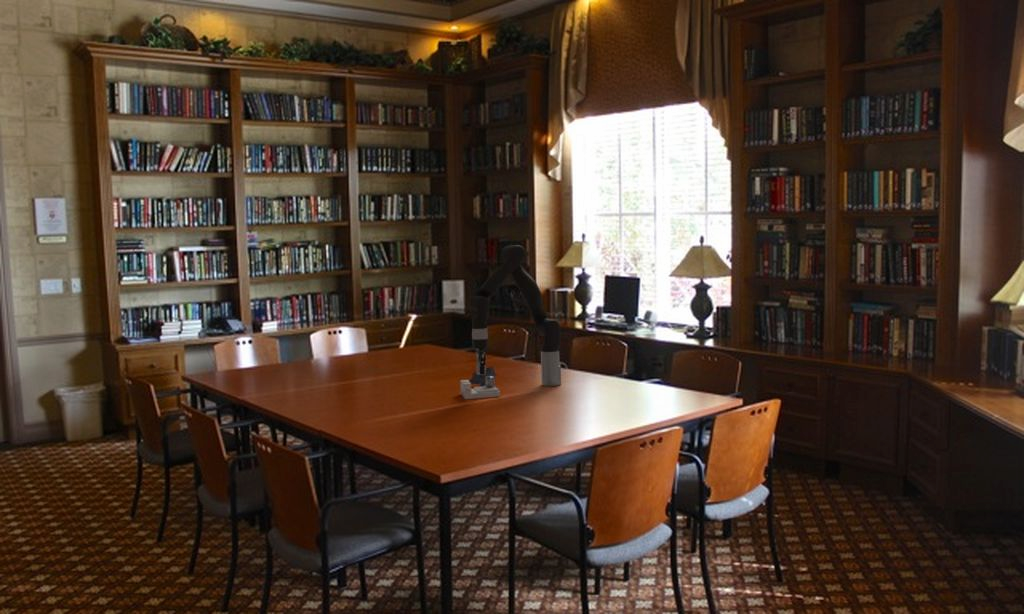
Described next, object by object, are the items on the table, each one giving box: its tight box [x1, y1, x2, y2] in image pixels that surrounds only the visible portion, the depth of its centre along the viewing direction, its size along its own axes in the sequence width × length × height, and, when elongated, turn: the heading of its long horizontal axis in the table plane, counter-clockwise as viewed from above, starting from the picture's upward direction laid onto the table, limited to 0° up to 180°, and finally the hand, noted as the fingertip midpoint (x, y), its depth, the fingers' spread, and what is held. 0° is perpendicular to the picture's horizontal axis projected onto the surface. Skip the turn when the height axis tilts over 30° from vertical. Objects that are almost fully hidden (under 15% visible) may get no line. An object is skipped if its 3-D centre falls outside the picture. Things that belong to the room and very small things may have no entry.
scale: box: [460, 379, 501, 400], centre depth 434 cm, size 17×13×7 cm
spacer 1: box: [475, 362, 487, 375], centre depth 430 cm, size 4×4×5 cm
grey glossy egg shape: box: [485, 376, 496, 388], centre depth 438 cm, size 4×4×5 cm
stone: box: [468, 365, 498, 387], centre depth 458 cm, size 14×6×10 cm, turn 117°
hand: (481, 373), depth 431 cm, fingers closed on spacer 1, 4 cm apart
